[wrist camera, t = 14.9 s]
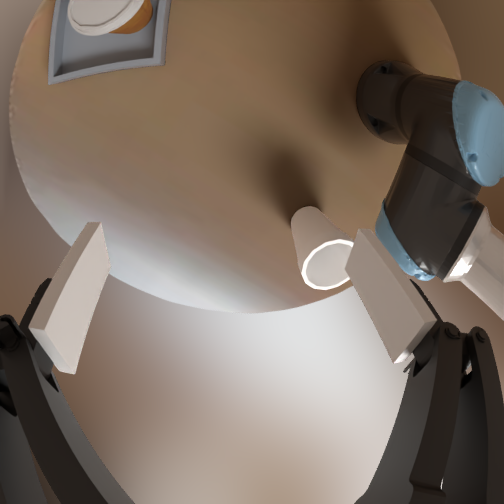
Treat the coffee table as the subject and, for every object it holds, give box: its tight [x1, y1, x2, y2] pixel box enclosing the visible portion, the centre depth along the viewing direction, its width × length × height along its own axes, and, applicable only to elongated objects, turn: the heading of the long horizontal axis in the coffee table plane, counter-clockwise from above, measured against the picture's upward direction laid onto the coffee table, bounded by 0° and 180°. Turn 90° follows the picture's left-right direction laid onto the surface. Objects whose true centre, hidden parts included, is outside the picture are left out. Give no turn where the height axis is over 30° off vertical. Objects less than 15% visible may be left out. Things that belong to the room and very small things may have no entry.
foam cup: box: [291, 206, 354, 290], centre depth 44 cm, size 10×9×13 cm
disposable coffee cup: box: [68, 0, 153, 36], centre depth 19 cm, size 10×10×12 cm
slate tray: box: [48, 0, 171, 85], centre depth 22 cm, size 18×18×4 cm
